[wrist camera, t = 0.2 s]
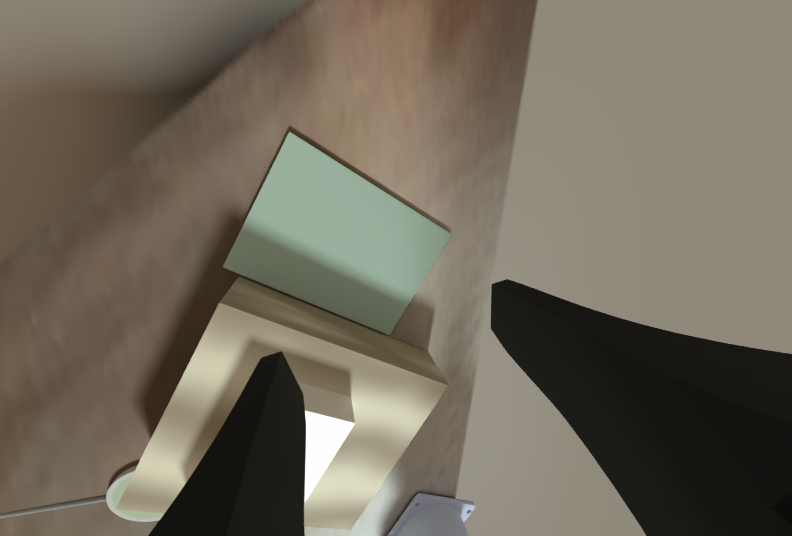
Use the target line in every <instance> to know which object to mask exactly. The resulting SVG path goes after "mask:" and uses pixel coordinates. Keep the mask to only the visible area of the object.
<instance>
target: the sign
mask: <svg viewBox="0 0 792 536" xmlns="http://www.w3.org/2000/svg"><path fill="white" fill-rule="evenodd" d="M136 467H137V465H136V466H133V467H131V468H129V469H127V470H125V471H124V472H122V473H121V474H120V475H119V476H118V477H117V478H116V479H115V480H114V482H113V483H112V485H111V486H110V488H109V489H108V492H107V495H106V496H101V497H95V498H89V499H83V500H78V501H72V502H66V503H60V504H55V505H49V506H43V507H37V508H31V509H26V510H20V511H14V512H9V513H3V514H0V518H5V517H12V516H18V515H24V514H30V513H36V512H42V511H48V510H54V509H60V508H67V507H73V506H79V505H85V504H91V503H97V502H103V501H107V504H108V506H109V508H110V509H111V510H112V511H113V512H114V513H115V514H116V515H118V516H120V517H122V518H125V519H128V520H132V521H140V522H149V521H157V520H160V519H161V518H162V516H163V515H164V514H163V513H152V512H140V511H129V510H118V509H116V507H117V505H118V503H119V501H120V499H121V497H122V495H123V493H124V491H125V489H126V487H127V485H128V483H129V481H130V479H131V477H132V475H133V473H134V471H135V469H136Z"/></svg>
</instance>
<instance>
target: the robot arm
mask: <svg viewBox="0 0 792 536" xmlns="http://www.w3.org/2000/svg"><path fill="white" fill-rule="evenodd" d="M491 299H492V300H491V329H492V331H493V332H494V334H495V335H496V337H497V338H498V340H499V341H500V343H501V344H502V346H503V347H504V348H505V350H506V351H507V352H508V354H509V355H510V356H511V357H512V358H513V360H514V361H515V362H516V363H517V364H518V365H519V366H520V368H521V369H522V370H523V371H524V372H525V373H526V374H527V375H528V376H529V378H530V379H531V380H532V381H533V382H534V383H535V384H536V385H537V387H539V389H540V390H541V391H542V392H543V393H544V394H545V396H546V397H547V398H548V399H549V400H550V401H551V402H552V403H553V404H554V406H555V407H556V408H557V409H558V410H559V412H560V413H561V414H562V415H563V417H564V418H565V419H566V420H567V422H568V423H569V424H570V426H571V427H572V428H573V430H574V431H575V432H576V434H577V435H578V436H579V438H580V439H581V440H582V442H583V443H584V445H585V446H586V447H587V449H588V450H589V451H590V453H591V454H592V456H593V457H594V458H595V460H596V461H597V463H598V464H599V465H600V467H601V468H602V470H603V471H604V472H605V474H606V475H607V477H608V478H609V480H610V481H611V483H612V484H613V485H614V487H615V488H616V490H617V491H618V493H619V494H620V496H621V497H622V499H623V500H624V502H625V503H626V505H627V506H628V508H629V509H630V511H631V512H632V514H633V515H634V517H635V518H636V520H637V521H638V523H639V524H640V526H641V528H642V529H643V531H644V532H645V534H646V536H792V354H787V353H781V352H774V351H768V350H762V349H755V348H749V347H744V346H738V345H732V344H727V343H722V342H716V341H712V340H707V339H702V338H697V337H692V336H688V335H683V334H679V333H674V332H670V331H666V330H662V329H658V328H654V327H650V326H646V325H642V324H638V323H635V322H631V321H628V320H624V319H621V318H617V317H614V316H611V315H608V314H605V313H602V312H598V311H595V310H592V309H589V308H586V307H583V306H580V305H577V304H575V303H572V302H569V301H566V300H564V299H561V298H558V297H555V296H552V295H550V294H547V293H544V292H542V291H539V290H537V289H534V288H531V287H528V286H525V285H523V284H520V283H517V282H514V281H510V280H503V281H500V282H497V283H494V284H492V295H491ZM305 461H306V417H305V406H304V396H303V392H302V390H301V388H300V386H299V384H298V382H297V380H296V378H295V376H294V374H293V372H292V370H291V368H290V366H289V364H288V362H287V360H286V358H285V356H284V354H283V352H282V351H280V352H277V353H274V354H271V355H268V356H264V357H261V359H260V360H259V362H258V364H257V366H256V367H255V369H254V371H253V373H252V375H251V376H250V378H249V380H248V382H247V384H246V385H245V387H244V389H243V391H242V393H241V394H240V396H239V398H238V400H237V402H236V403H235V405H234V407H233V408H232V410H231V412H230V414H229V415H228V417H227V419H226V420H225V422H224V424H223V426H222V427H221V429H220V431H219V432H218V434H217V436H216V437H215V439H214V440H213V442H212V444H211V445H210V447H209V448H208V450H207V451H206V453H205V455H204V456H203V458H202V459H201V461H200V462H199V464H198V466H197V467H196V469H195V470H194V472H193V473H192V475H191V476H190V478H189V479H188V481H187V482H186V484H185V485H184V487H183V488H182V490H181V491H180V492H179V494H178V495H177V497H176V498H175V500H174V501H173V502H172V504H171V505H170V507H169V508H168V509H167V511H166V512H165V514H164V515H163V516H162V518H161V519H160V520H159V522H158V523H157V525H156V526H155V527H154V529H153V530H152V531H151V533H150V534H149V535H148V536H305V535H304V497H305ZM474 508H475V504H474V502H471V501H466V500H460V499H453V498H447V497H441V496H435V495H429V494H423V493H419V494H417V495H416V496H415V497H414V498H413V500H412V501H411V503H410V504H409V506H408V507H407V508H406V510H405V511H404V513H403V514H402V515H401V517H400V518H399V520H398V521H397V522H396V524H395V525H394V527H393V528H392V530H391V531H390V532H389V534H388V535H387V536H469V534H468V532H467V529H466V527H465V525H464V522H465V521H466V519H467V518H468V516H469V515H470V514H471V512H472V511H473V510H474Z"/></svg>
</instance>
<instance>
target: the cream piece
mask: <svg viewBox="0 0 792 536" xmlns="http://www.w3.org/2000/svg"><path fill="white" fill-rule="evenodd" d="M280 351H282V352H283V354H284V356H285V358H286V360H287V362H288V364H289V366H290V368H291V370H292V372H293V374H294V376H295V378H296V380H297V382H300V383H304V384H307V385H310V386H314V387H317V388H321V389H324V390H328V391H331V392H335V393H338V394H341V395H345V396H348V397H351V400H352V406H353V413H354V419H355V424H354V426H353V427H352V429H351V431H350V432H349V434H348V435H347V437H346V439H345V440H344V442H343V443H342V445H341V446H340V448H339V450H338V451H337V453H336V454H335V456H334V457H333V459H332V461H331V462H330V464H329V465H328V467H327V468H326V470H325V472H324V473H323V475H322V476H321V478H320V480H319V481H318V483H317V484H316V486H315V487H314V489H313V491H312V492H311V494H310V495H309V497H308V498H307V500H306V502H305V503H304V526H308V527H319V528H331V529H342V530H351V529H352V527H353V526H354V524H355V523H356V521H357V520H358V519H359V517H360V516H361V514H362V513H363V511H364V510H365V508H366V507H367V505H368V504H369V502H370V501H371V499H372V498H373V496H374V495H375V493H376V492H377V491H378V489H379V488H380V486H381V485H382V483H383V482H384V480H385V479H386V477H387V476H388V474H389V473H390V471H391V470H392V468H393V467H394V466H395V464H396V463H397V461H398V460H399V458H400V457H401V455H402V454H403V452H404V451H405V449H406V448H407V446H408V445H409V443H410V442H411V440H412V439H413V438H414V436H415V435H416V433H417V432H418V430H419V429H420V427H421V426H422V424H423V423H424V421H425V420H426V418H427V417H428V415H429V414H430V413H431V411H432V410H433V408H434V407H435V405H436V404H437V402H438V401H439V399H440V398H441V396H442V395H443V393H444V392H445V390H446V389H447V387H448V386H449V385H448V383H447V382H446V380H445V379H444V377H443V375H442V374H441V372H440V371H439V369H438V367H437V366H436V364H435V362H434V361H433V359H432V358H431V356H430V354H429V353H428V352H427V351H425V350H422V349H420V348H417V347H415V346H412V345H410V344H407V343H405V342H402V341H400V340H398V339H395V338H393V337H390V336H388V335H385V334H383V333H380V332H378V331H375V330H373V329H370V328H368V327H365V326H363V325H361V324H358V323H356V322H353V321H351V320H348V319H346V318H343V317H341V316H338V315H336V314H333V313H331V312H328V311H326V310H324V309H321V308H319V307H316V306H314V305H311V304H309V303H306V302H304V301H301V300H299V299H296V298H294V297H292V296H289V295H287V294H284V293H282V292H279V291H277V290H274V289H272V288H269V287H267V286H264V285H262V284H259V283H257V282H255V281H252V280H250V279H247V278H245V277H242V276H240V275H239V277H238V278H237V279H236V281H235V282H234V284H233V285H232V286H231V288H230V289H229V290H228V292H227V293H226V294H225V296H224V297H223V298H222V300H221V301H220V302H219V304H218V306H217V308H216V310H215V312H214V314H213V316H212V318H211V320H210V322H209V324H208V326H207V328H206V330H205V332H204V334H203V336H202V338H201V340H200V342H199V344H198V346H197V348H196V350H195V352H194V354H193V356H192V358H191V360H190V362H189V364H188V366H187V368H186V370H185V372H184V374H183V376H182V378H181V380H180V382H179V384H178V386H177V388H176V390H175V392H174V394H173V396H172V398H171V400H170V402H169V404H168V406H167V408H166V410H165V412H164V414H163V416H162V418H161V420H160V422H159V424H158V426H157V428H156V430H155V432H154V434H153V436H152V438H151V440H150V442H149V444H148V446H147V448H146V450H145V452H144V454H143V456H142V457H141V459H140V461H139V463H138V465H137V467H136V469H135V471H134V473H133V475H132V477H131V479H130V481H129V483H128V485H127V487H126V489H125V491H124V493H123V495H122V497H121V499H120V501H119V503H118V505H117V507H116V509H118V510H129V511H140V512H152V513H163V514H165V512H166V511H167V509H168V508H169V507H170V505H171V504H172V502H173V501H174V500H175V498H176V497H177V495H178V494H179V492H180V491H181V490H182V488H183V487H184V485H185V484H186V482H187V481H188V479H189V478H190V476H191V475H192V473H193V472H194V470H195V469H196V467H197V466H198V464H199V462H200V461H201V459H202V458H203V456H204V455H205V453H206V451H207V450H208V448H209V447H210V445H211V444H212V442H213V440H214V439H215V437H216V436H217V434H218V432H219V431H220V429H221V427H222V426H223V424H224V422H225V420H226V419H227V417H228V415H229V414H230V412H231V410H232V408H233V407H234V405H235V403H236V402H237V400H238V398H239V396H240V394H241V393H242V391H243V389H244V387H245V385H246V384H247V382H248V380H249V378H250V376H251V375H252V373H253V371H254V369H255V367H256V366H257V364H258V362H259V360H260V359H261V357H264V356H268V355H271V354H274V353H277V352H280Z"/></svg>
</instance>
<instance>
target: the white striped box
mask: <svg viewBox="0 0 792 536" xmlns="http://www.w3.org/2000/svg"><path fill="white" fill-rule="evenodd" d="M298 384H299V386H300V388H301V390H302V392H303V396H304V406H305V417H306V461H305V497H304V503H305V502H306V500H307V498H308V497H309V495H310V494H311V492H312V491H313V489H314V487H315V486H316V484H317V483H318V481H319V480H320V478H321V476H322V475H323V473H324V472H325V470H326V468H327V467H328V465H329V464H330V462H331V461H332V459H333V457H334V456H335V454H336V453H337V451H338V450H339V448H340V446H341V445H342V443H343V442H344V440H345V439H346V437H347V435H348V434H349V432H350V431H351V429H352V427H353V426H354V424H355V419H354V413H353V406H352V400H351V397H348V396H345V395H341V394H338V393H335V392H331V391H328V390H324V389H321V388H317V387H314V386H310V385H307V384H304V383H300V382H298Z"/></svg>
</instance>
